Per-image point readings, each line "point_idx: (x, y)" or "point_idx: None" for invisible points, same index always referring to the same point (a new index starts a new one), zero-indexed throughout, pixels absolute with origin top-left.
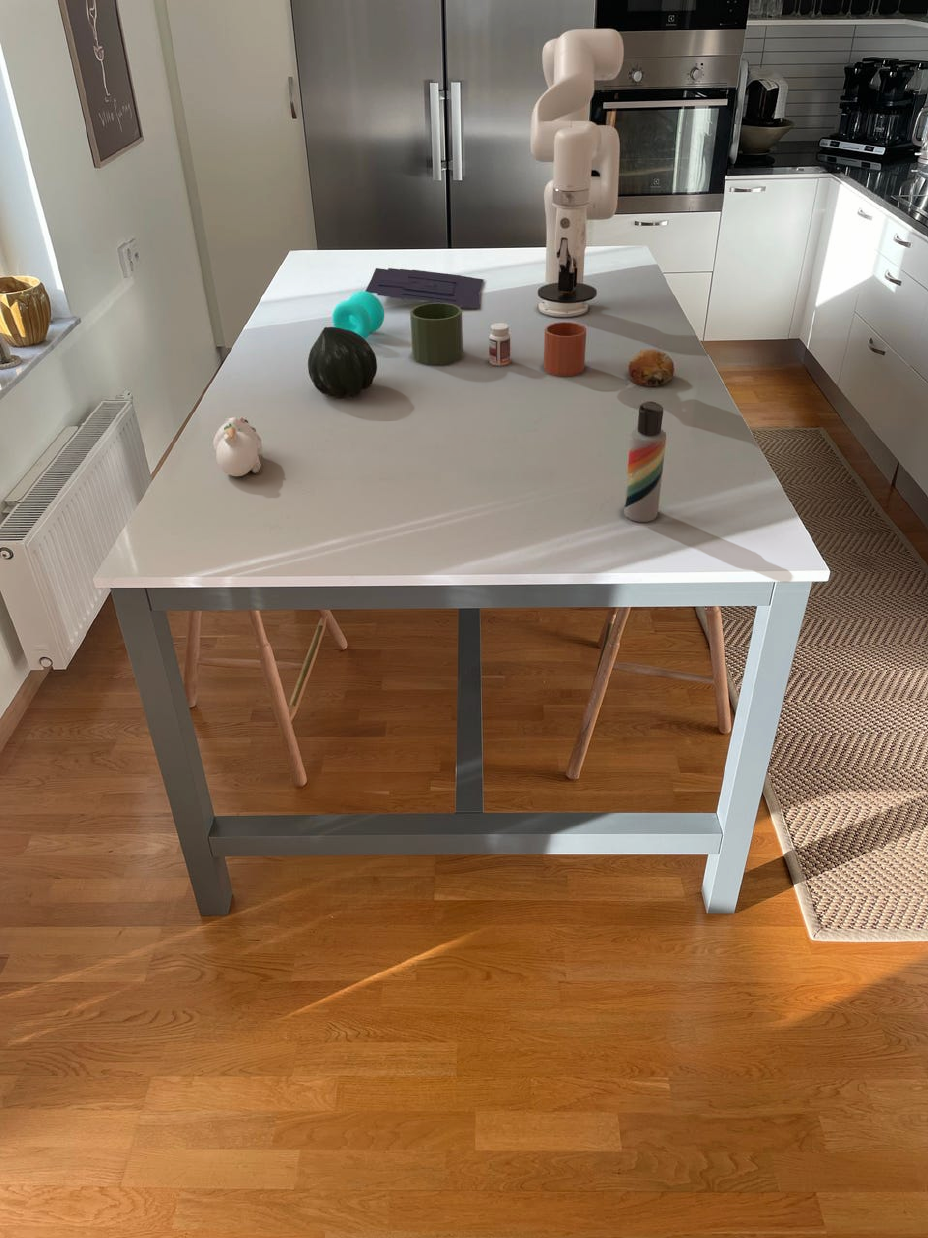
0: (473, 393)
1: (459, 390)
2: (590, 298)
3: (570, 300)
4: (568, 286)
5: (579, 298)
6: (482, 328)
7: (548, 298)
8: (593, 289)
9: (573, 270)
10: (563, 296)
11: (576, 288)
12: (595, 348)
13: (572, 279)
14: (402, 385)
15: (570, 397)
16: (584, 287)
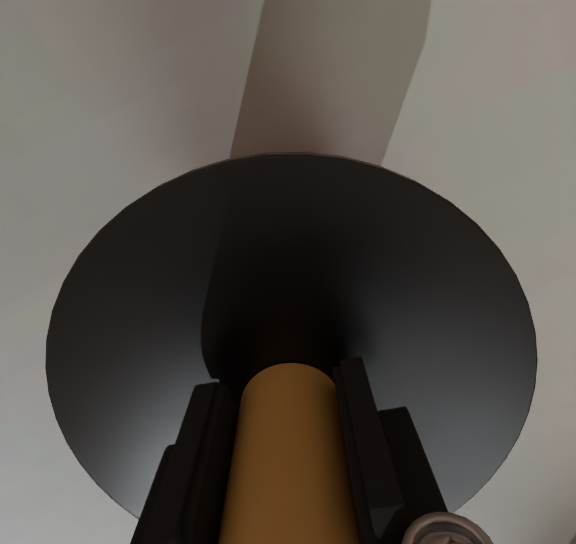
0: (562, 375)
1: (551, 412)
2: (365, 163)
3: (516, 294)
4: (408, 411)
5: (438, 246)
6: (129, 532)
7: (508, 449)
8: (133, 234)
9: (302, 537)
10: (428, 379)
11: (189, 370)
12: (62, 204)
13: (384, 439)
14: (554, 523)
15: (518, 98)
16: (129, 325)
